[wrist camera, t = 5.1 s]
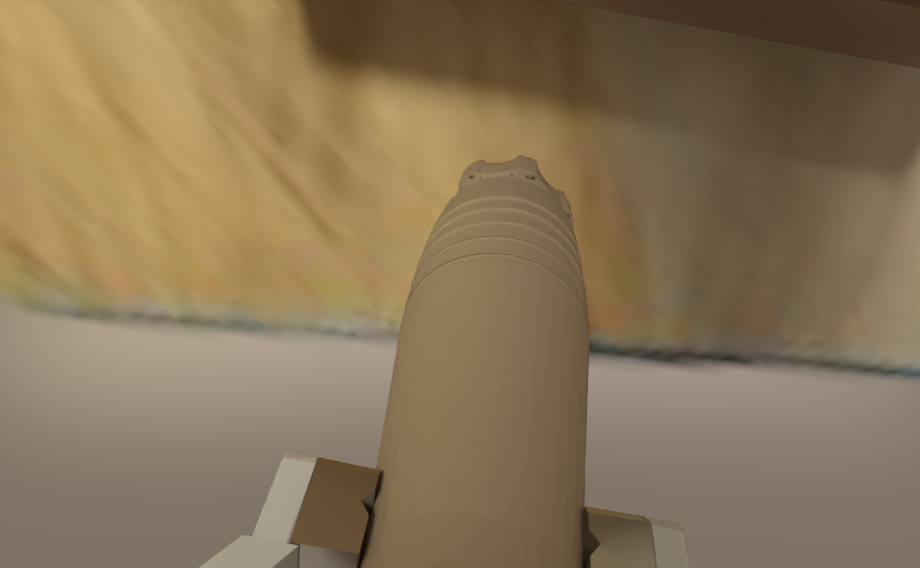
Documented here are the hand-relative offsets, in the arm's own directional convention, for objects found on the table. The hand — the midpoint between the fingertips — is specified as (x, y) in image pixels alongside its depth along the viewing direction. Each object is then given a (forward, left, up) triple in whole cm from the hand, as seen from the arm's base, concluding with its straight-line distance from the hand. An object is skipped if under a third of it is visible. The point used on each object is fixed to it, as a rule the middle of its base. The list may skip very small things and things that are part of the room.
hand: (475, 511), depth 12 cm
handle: (0, 0, -11) cm, 10 cm away
